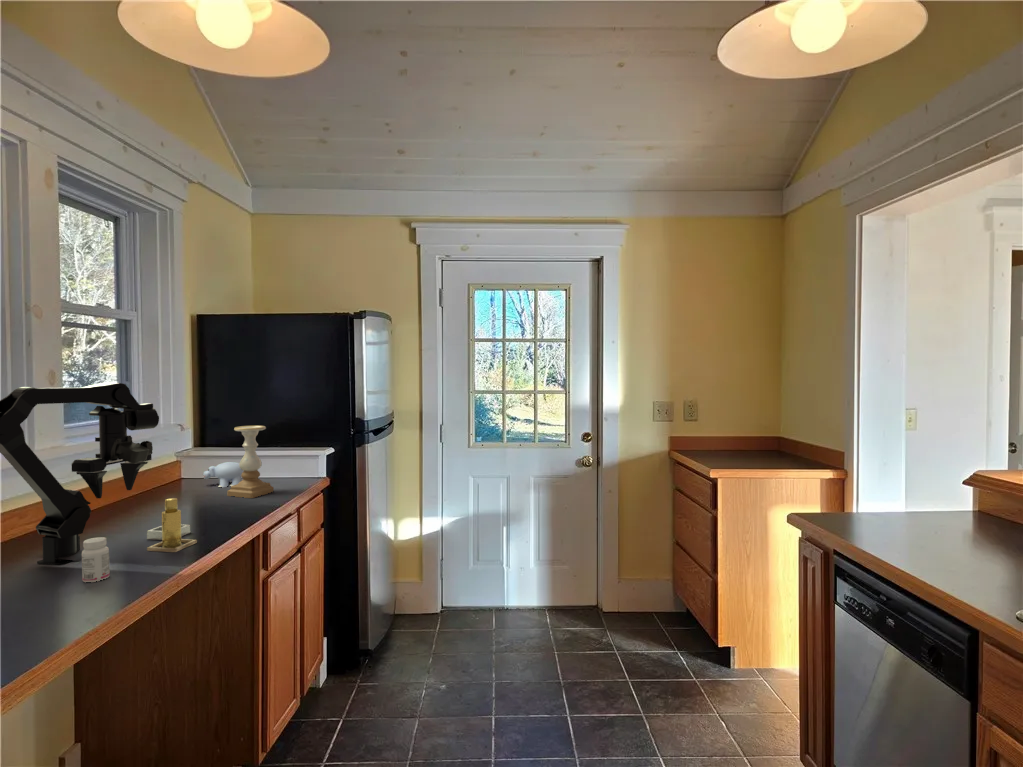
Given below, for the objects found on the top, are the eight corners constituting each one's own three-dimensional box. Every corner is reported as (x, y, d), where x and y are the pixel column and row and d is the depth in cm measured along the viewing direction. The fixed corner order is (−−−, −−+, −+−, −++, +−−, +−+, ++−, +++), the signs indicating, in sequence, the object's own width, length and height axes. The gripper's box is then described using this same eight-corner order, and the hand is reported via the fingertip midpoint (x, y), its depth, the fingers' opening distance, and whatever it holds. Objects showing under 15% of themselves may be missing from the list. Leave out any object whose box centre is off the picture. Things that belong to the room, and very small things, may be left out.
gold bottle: (166, 552, 137) (166, 502, 137) (159, 549, 139) (158, 499, 139) (184, 547, 140) (183, 499, 140) (176, 544, 143) (175, 496, 142)
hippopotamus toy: (205, 483, 222) (204, 459, 222) (247, 481, 228) (247, 457, 227) (201, 489, 212) (201, 463, 212) (246, 486, 218) (245, 461, 217)
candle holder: (249, 489, 211) (249, 424, 210) (274, 491, 208) (273, 425, 207) (226, 496, 201) (225, 427, 200) (252, 498, 197) (251, 429, 196)
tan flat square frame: (175, 558, 136) (175, 549, 136) (146, 556, 137) (146, 547, 137) (197, 548, 143) (197, 539, 143) (170, 547, 144) (169, 538, 144)
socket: (171, 546, 145) (171, 532, 145) (146, 544, 146) (146, 531, 146) (190, 537, 152) (190, 524, 152) (166, 536, 153) (166, 523, 153)
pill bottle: (105, 573, 126) (104, 535, 126) (112, 578, 123) (112, 539, 123) (79, 579, 122) (78, 540, 122) (85, 584, 119) (85, 544, 119)
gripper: (110, 437, 134) (112, 504, 135) (169, 429, 153) (170, 487, 153) (68, 436, 136) (70, 502, 137) (132, 428, 154) (133, 486, 155)
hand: (114, 494), depth 145 cm, fingers open, 9 cm apart
